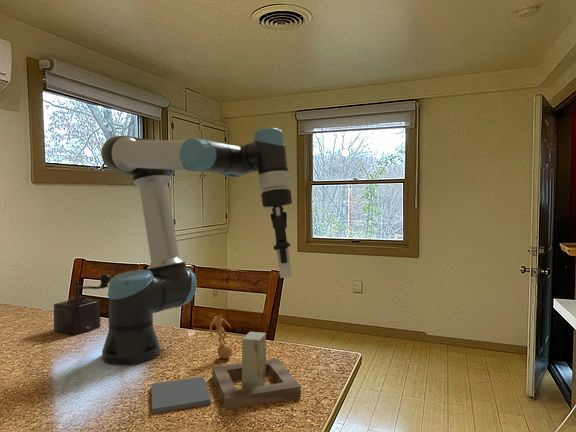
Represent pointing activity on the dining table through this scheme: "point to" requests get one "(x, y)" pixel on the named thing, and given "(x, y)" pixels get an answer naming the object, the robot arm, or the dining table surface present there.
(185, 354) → the dining table surface
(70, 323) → the dark grey handled box
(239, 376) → the stand
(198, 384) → the slate pad
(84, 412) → the dining table surface
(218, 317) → the figurine
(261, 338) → the skincare box
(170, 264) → the robot arm
